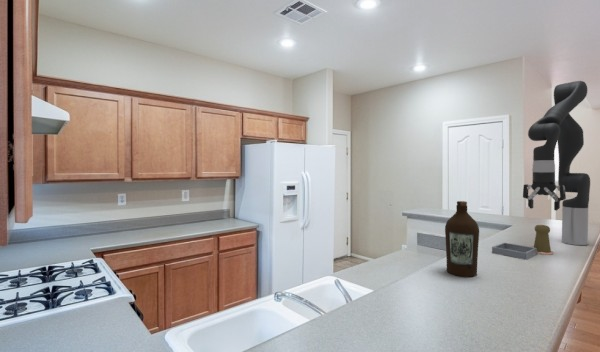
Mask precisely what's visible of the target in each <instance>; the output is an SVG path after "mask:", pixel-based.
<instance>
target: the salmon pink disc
mask: <svg viewBox="0 0 600 352" xmlns="http://www.w3.org/2000/svg"><path fill="white" fill-rule="evenodd" d="M538 254H539V255H548V256H550V255H551V256H552V255H553V254H554V251H552V250H551V252H550V253H544V252H537V255H538Z"/></svg>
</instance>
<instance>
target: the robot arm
mask: <svg viewBox="0 0 600 352" xmlns="http://www.w3.org/2000/svg"><path fill="white" fill-rule="evenodd" d="M587 95H588V85H587V83H586V82H585V81H583V80H577V81H576V80H575V81H571V82H565V83H560V84H557V85H556V86H555V87H554V89H553V99H554V100H553V102H554V105H552V106H551V107H550V108H549V109H548V110H547V111H546V112H545V113H544V115H543V116H542V118H539V119H538V120H537V121H535V122H534V123H533V124H532V125H531V126H530V127H529V128H528V132H527V135H528V138H529V139H530V140H531V141H534V142H543V141H545V143H544V144H543V145H540V146H537V147H534V148H533V155H532V156H533V157H532V159H533V161H532V170H531V171H532V183H531V184H529V183H528V184H527V183H526V184H523V189H522V190H523V191H522V198H523V199H527V206H528V207H529V209H531V210H532V209H533V208H534V198H535V197H536V196H550V197H551V198H552V199H553V202H554V203H553V205H554V206H553V210H554V211H558V210H560V208H561V207H562V209H561V212H562V214H561V215H562V217H561V221H562V222H561V242H562V243H563V244H567V245H568V244H569V245H575V246H587V245H588V244H589V203H590V191H591V178H590V175H589V174H588V173H585V172H584V173H583V172H571V171H570V170H571V165H572V163H573V161H574V159H575V158H576V157H577V155H578V154H579V153H580V151H581V150H582V149H583V148H584V147H583V146H584V129H583V128H582V127H581V125H580V124H579V123H578V122H577V121H576V120H575V119H574V118H573V117H572V116H571V114H570V113H571V112H572V111H573V110H574V109H576V107H577V106H579V105H580V103H582V102H583V101H584V100H585V99H586V97H587ZM556 146H557V148H558V149H557V150H558V172H557V173H558V174H557V175H558V177H557V178H558V179H557V180H558V182H557V183H558V184H557V185H556V163H555V150H556ZM531 189H532V190H533V191H532V192H531V194H530V195H529V190H531ZM556 190H557V191H558V192H559V196H558V195H557V193H556V192H555V191H556ZM566 193H573V194H574V193H575V194H576V196H574V197H572V198H569V199H567V198H566V197H567V195H566ZM561 201H562V203H561ZM561 204H562V205H561Z"/></svg>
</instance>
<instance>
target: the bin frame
mask: <svg viewBox="0 0 600 352" xmlns="http://www.w3.org/2000/svg"><path fill="white" fill-rule="evenodd" d="M491 253H492V254H497V255H501V256H506V257H511V258H515V259H517V258H518V259H522V260H528V259H530V258H533V257H535V256H536V255H538V253H537V248H534V246H533V247H532V246H526V245H520V244H517V243H516V244H515V243H509V242H501V243H499V244H497V245H494V246H492V247H491Z"/></svg>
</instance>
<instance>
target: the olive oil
mask: <svg viewBox="0 0 600 352" xmlns="http://www.w3.org/2000/svg"><path fill="white" fill-rule="evenodd" d="M455 208H456V211H455V213H454V214H453V215H452V216H451V217H450V218H449V219H448V220H447V221H446V223H445V227H444V233H445V252H446V253H445V254H446V272H448V274H450V275H454V276H457V277H463V278H472V277H476V276H477V275H478V259H479V258H478V255H479V243H480V242H479V240H480V228H479V224H478V222H477V221H476V220H475V219H474V218H473V216H471V215H470V214H469V213H468V201H464V200H458V201H456V207H455Z"/></svg>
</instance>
